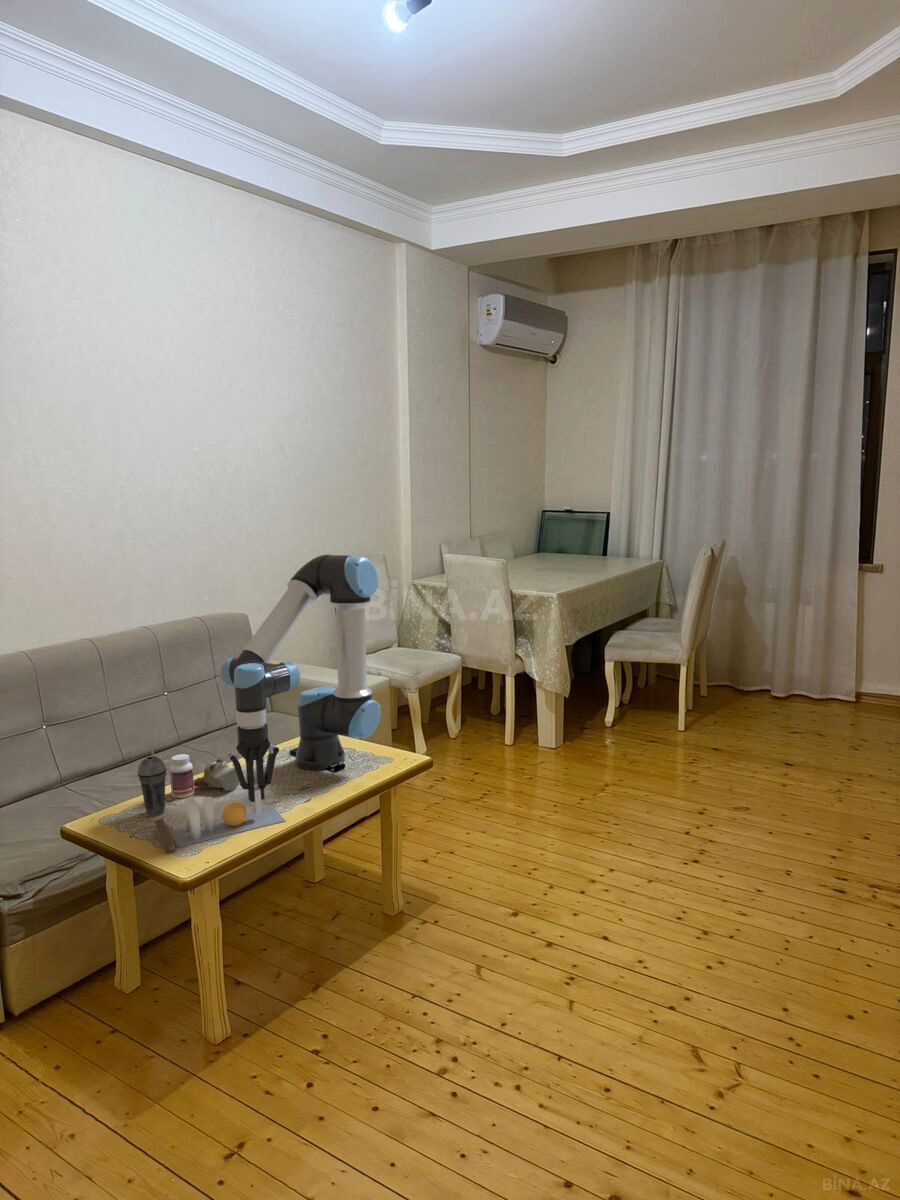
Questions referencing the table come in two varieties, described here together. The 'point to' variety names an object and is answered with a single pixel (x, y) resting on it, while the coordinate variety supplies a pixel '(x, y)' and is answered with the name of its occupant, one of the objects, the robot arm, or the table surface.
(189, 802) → the back pin right
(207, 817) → the front pin
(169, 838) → the back wall
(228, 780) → the ceramic sculpture
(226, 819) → the ball
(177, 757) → the pill bottle
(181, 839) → the lane mat
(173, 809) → the table surface
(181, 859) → the table surface
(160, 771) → the beverage cup
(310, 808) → the table surface
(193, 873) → the table surface
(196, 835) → the back pin left
